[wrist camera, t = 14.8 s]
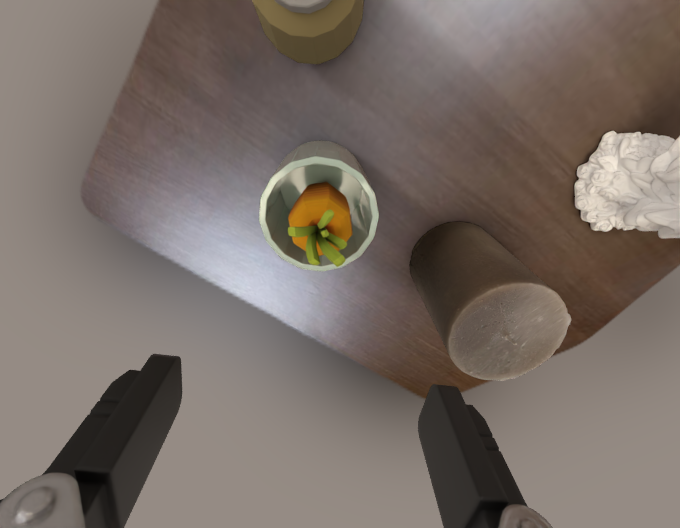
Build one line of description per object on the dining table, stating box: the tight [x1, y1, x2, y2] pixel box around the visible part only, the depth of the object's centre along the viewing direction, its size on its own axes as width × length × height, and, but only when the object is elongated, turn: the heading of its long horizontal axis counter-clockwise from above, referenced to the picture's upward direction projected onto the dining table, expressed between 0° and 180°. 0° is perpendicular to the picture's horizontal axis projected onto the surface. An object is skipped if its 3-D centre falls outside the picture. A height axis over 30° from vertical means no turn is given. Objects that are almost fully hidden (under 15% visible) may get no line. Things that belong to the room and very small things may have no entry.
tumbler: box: [259, 140, 379, 271], centre depth 31 cm, size 9×9×10 cm
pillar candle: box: [410, 222, 571, 381], centre depth 33 cm, size 10×10×15 cm
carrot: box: [288, 182, 352, 267], centre depth 28 cm, size 5×5×15 cm
